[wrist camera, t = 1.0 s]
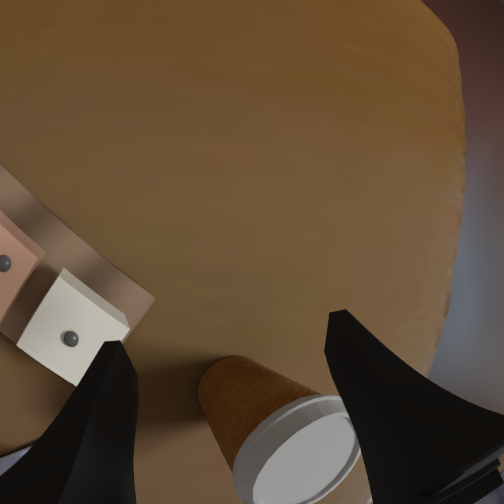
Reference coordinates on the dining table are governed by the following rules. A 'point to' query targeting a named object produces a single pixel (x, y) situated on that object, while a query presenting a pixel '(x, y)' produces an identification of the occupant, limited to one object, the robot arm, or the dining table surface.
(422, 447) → the robot arm
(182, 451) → the dining table surface
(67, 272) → the key one
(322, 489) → the disposable coffee cup
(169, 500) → the dining table surface
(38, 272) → the board
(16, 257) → the key two
